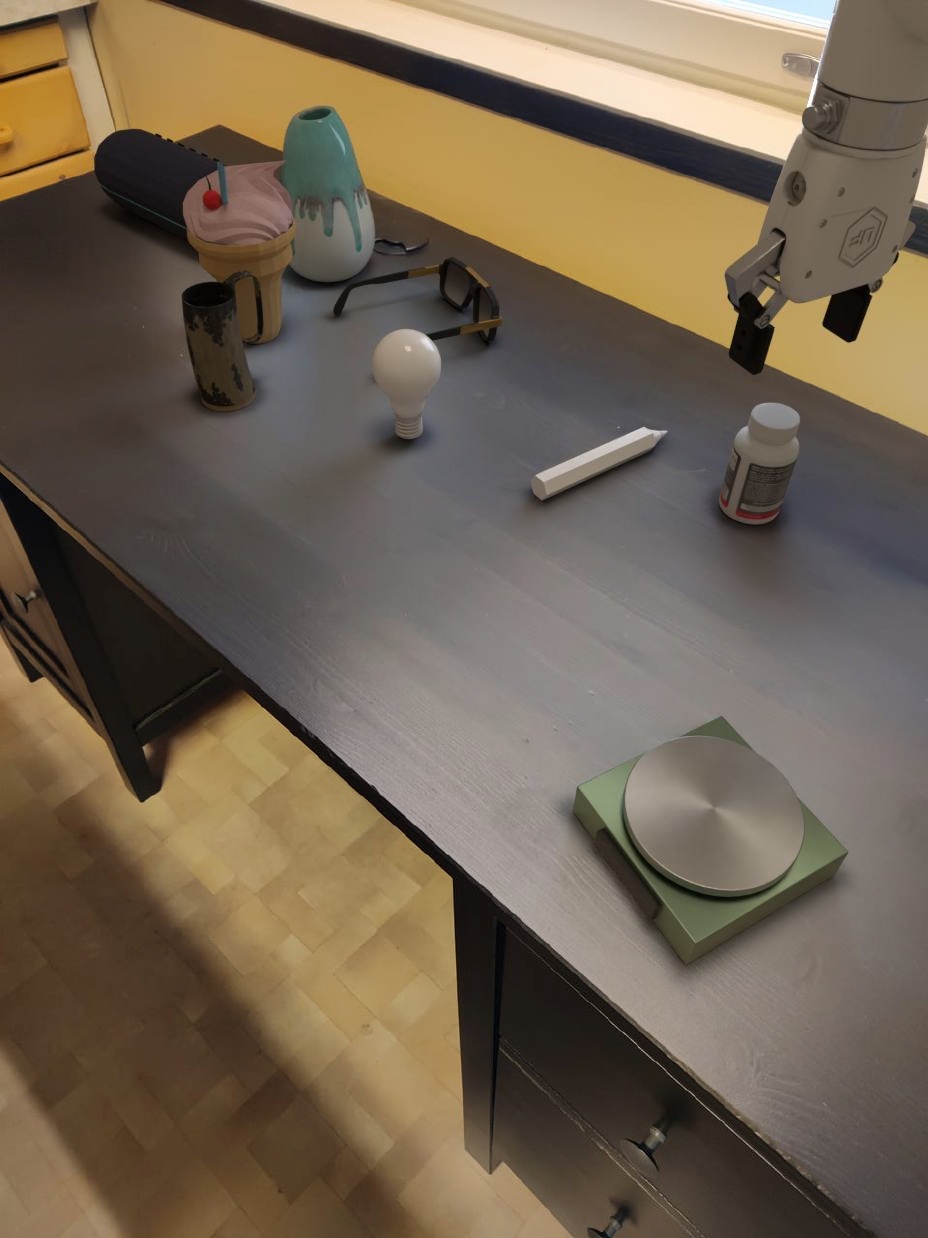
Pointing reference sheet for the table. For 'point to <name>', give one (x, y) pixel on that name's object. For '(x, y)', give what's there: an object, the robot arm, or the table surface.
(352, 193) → the vase
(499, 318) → the sunglasses
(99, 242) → the table surface
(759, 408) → the pill bottle
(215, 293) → the mug
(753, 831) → the pan
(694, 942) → the scale
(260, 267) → the ice cream cone
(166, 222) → the portable speaker
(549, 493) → the white pencil
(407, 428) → the lightbulb
